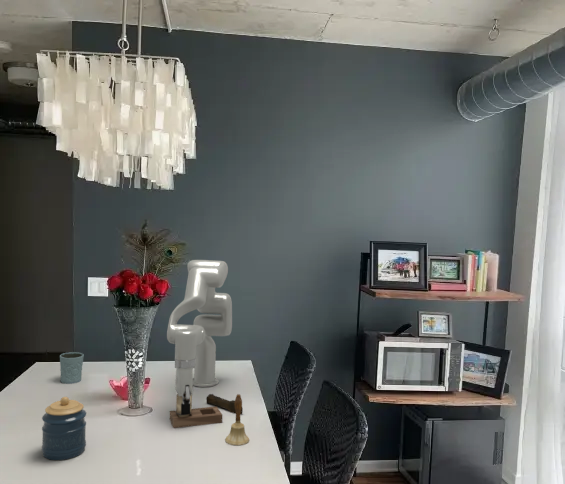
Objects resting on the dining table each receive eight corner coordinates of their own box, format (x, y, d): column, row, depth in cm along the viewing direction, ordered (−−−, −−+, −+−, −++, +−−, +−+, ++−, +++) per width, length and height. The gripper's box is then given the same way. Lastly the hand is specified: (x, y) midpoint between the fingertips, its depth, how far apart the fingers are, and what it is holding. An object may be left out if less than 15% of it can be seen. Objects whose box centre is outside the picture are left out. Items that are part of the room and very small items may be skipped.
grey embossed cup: (65, 377, 240) (66, 351, 240) (87, 378, 240) (87, 352, 239) (55, 384, 230) (55, 357, 230) (77, 385, 230) (78, 358, 229)
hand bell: (253, 442, 176) (254, 396, 175) (231, 447, 172) (232, 400, 171) (243, 433, 183) (244, 389, 182) (221, 438, 179) (222, 392, 178)
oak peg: (174, 419, 193) (175, 393, 193) (189, 417, 195) (190, 391, 195) (177, 425, 188) (177, 398, 188) (192, 423, 190) (193, 396, 190)
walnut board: (169, 419, 194) (169, 411, 194) (216, 413, 201) (216, 406, 201) (173, 428, 186) (173, 419, 186) (222, 422, 192) (222, 414, 192)
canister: (63, 440, 173) (64, 388, 173) (94, 447, 169) (95, 393, 168) (32, 456, 161) (32, 400, 160) (64, 464, 156) (65, 406, 156)
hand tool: (205, 404, 212) (205, 393, 211) (213, 402, 214) (213, 391, 214) (236, 417, 199) (237, 405, 199) (244, 414, 202) (244, 403, 201)
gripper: (171, 357, 197) (170, 404, 198) (179, 370, 182) (177, 421, 182) (190, 356, 200) (189, 402, 201) (200, 368, 184) (198, 418, 185)
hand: (183, 410), depth 192 cm, fingers closed on oak peg, 5 cm apart
